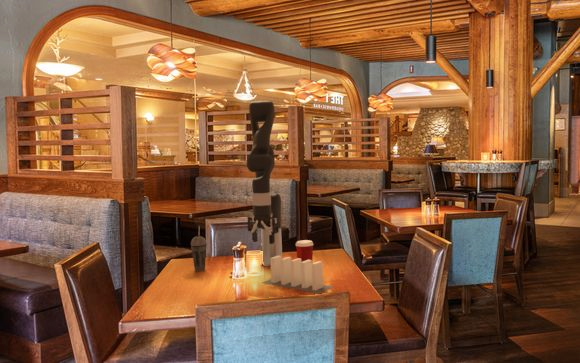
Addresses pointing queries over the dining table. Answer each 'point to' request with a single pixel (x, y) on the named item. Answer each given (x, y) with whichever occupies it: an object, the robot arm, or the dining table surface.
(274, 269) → the tile
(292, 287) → the slate mat
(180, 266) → the dining table surface
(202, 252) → the beverage cup
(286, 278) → the tile
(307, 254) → the paper cup
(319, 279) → the tile
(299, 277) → the tile
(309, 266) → the tile
